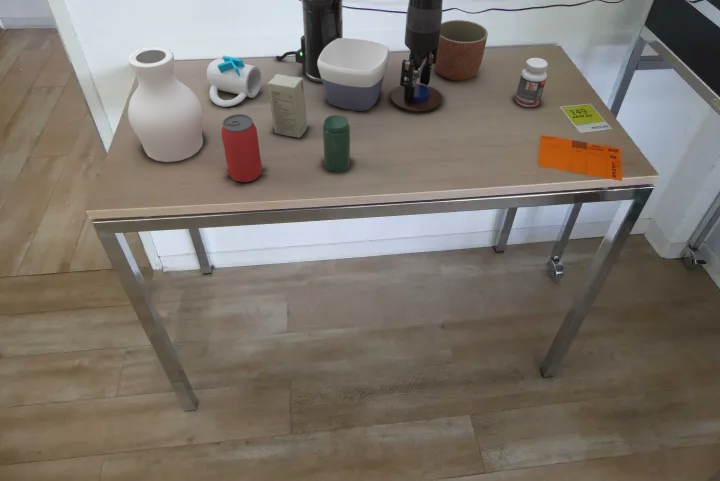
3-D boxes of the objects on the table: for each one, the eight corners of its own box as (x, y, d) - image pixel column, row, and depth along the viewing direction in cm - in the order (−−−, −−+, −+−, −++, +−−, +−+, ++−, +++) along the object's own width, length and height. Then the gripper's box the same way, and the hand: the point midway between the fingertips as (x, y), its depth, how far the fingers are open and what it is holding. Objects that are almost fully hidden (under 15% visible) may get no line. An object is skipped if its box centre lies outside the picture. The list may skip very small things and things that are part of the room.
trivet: (381, 104, 131) (381, 101, 131) (404, 82, 139) (404, 79, 138) (428, 118, 127) (428, 115, 127) (449, 95, 135) (449, 92, 134)
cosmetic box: (307, 128, 124) (304, 77, 115) (300, 139, 121) (296, 88, 112) (281, 122, 125) (276, 72, 117) (272, 133, 122) (267, 82, 114)
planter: (446, 56, 149) (452, 15, 141) (488, 70, 144) (496, 28, 136) (422, 74, 141) (426, 32, 134) (465, 90, 136) (472, 47, 129)
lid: (434, 98, 132) (434, 93, 131) (413, 105, 130) (414, 99, 129) (419, 87, 135) (420, 82, 134) (399, 93, 133) (400, 88, 132)
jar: (319, 166, 114) (317, 124, 107) (332, 153, 117) (331, 111, 110) (341, 175, 112) (340, 132, 105) (354, 161, 116) (354, 118, 108)
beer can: (230, 164, 114) (221, 112, 106) (263, 162, 115) (256, 111, 106) (227, 184, 110) (217, 132, 101) (261, 183, 110) (254, 131, 102)
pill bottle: (539, 109, 131) (550, 70, 124) (514, 106, 132) (524, 67, 125) (539, 96, 135) (549, 58, 128) (515, 93, 136) (524, 55, 129)
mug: (207, 43, 130) (253, 53, 127) (221, 70, 138) (264, 80, 135) (184, 83, 126) (230, 95, 123) (200, 108, 134) (244, 119, 131)
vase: (149, 125, 124) (123, 37, 109) (214, 126, 124) (197, 39, 110) (130, 164, 114) (99, 74, 99) (200, 165, 114) (180, 75, 99)
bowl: (375, 121, 126) (376, 75, 118) (311, 108, 130) (309, 63, 122) (393, 88, 137) (396, 44, 129) (334, 77, 140) (333, 33, 132)
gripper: (425, 41, 114) (418, 110, 126) (452, 15, 123) (443, 82, 135) (392, 32, 117) (388, 101, 128) (421, 8, 126) (415, 74, 137)
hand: (416, 91), depth 132 cm, fingers open, 8 cm apart
